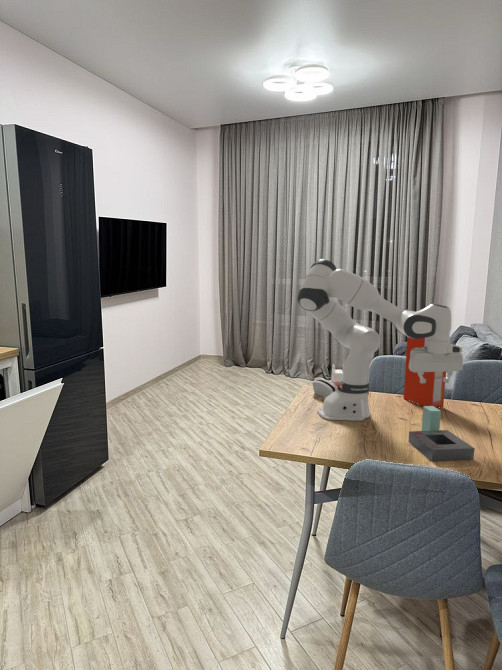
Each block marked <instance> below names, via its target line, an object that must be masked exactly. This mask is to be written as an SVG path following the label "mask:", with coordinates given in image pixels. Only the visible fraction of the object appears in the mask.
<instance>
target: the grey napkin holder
mask: <svg viewBox="0 0 502 670" xmlns="http://www.w3.org/2000/svg"><path fill="white" fill-rule="evenodd" d="M311 384H312V388H313V393H316V394H315V395H317V394H318V395H317V396H319V395H320V396H319V397H321V396H322V397H321V398H323V397H324V398H323V399H325V398H326V397H327V396H329V395H330V394H332V393H333V392H335V391H336V390H337V387H336V386H335V385H334V384H332V383H331V381H329V380H327V379H324V378H318V379H316V380H314V381H312V383H311Z"/></svg>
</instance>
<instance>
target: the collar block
mask: <svg viewBox="0 0 502 670" xmlns="http://www.w3.org/2000/svg"><path fill="white" fill-rule="evenodd" d="M408 443H409V444H410V445H412V446H413V448H415V449H416V450H418V451H419V452H420V453H422V455H424V456H425V457H426V458H427V459H428V460H429V461H431V462H445V461H446V462H447V461H448V462H449V461H470V460H471V461H472V460H474V458H475V447H473V446H472V445H470V444H469V443H467V442H466V441H464V440H463V439H462V438H460V437H458V436H457V435H455V434H453V433H452V432H451V431H450V430H448V429H442V430H440V429H439V430H436V431H421V430H413V431H410V430H409V432H408Z"/></svg>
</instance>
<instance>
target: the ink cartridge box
mask: <svg viewBox="0 0 502 670" xmlns="http://www.w3.org/2000/svg"><path fill="white" fill-rule="evenodd" d="M331 367H332V368H331V379H330V382H331V383H332V384H334V382H335V381H338V382H339V383H340V382H341V381H342V373H343V369H336V367H335V364H334V363H332V365H331ZM334 385H335V384H334ZM335 386H336V385H335ZM336 387H337V386H336Z"/></svg>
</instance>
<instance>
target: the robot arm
mask: <svg viewBox="0 0 502 670" xmlns="http://www.w3.org/2000/svg"><path fill="white" fill-rule="evenodd" d="M335 298H337V299H339V300H340V301H342V302H344V303H346V304H347V305H348V306H351V307H352V308H355V309H357V310H360V311H363V312H372V313H376V314H377V315H378V316H380V317H381V318H383V319H386V320H387V321H389V322H390V323H391V324H392V325H393V326H394V328H395V330H396V331H397V332H398V333H400V334H402V335H403V336H406V337H407V336H408V337H409V338H412V339H419V338H425V346H424V347H421V348H417V347H416V348H414V349H412V350H411V352H410V361H409V369H410V371H412V372H418V376H419V377H420V383H426V379H425V378H423V376H422V375H424V372H444V371H446V377H443V379H444V380H443V382H445V384H446V383H450V379H451V378H452V376H453V375H454V373H453V372H461V371H462V370H463V367H464V356H463V354H462V353H463V347H461V346H460V345H456V344H454V343H452V342H451V337H450V333H451V330H452V311H451V308H450V307H448V306H447V305H442V304H439V303H430V304H428V305H427V306H426V307H424V308H422V309H420V310H416V311H415V310H412V309H408V308H400V307H399V306H397V305H395V304H394V303H391V302H390V301H388V300H386V299H385V298H384V297H382V296H381V294H380V292H379V290H378V288H377V287H375V286H374V285H373V284H372V283H371V282H369V281H368V280H366V279H365V278H363V277H362V276H360V275H358V274H355V273H353V272H352V271H348V270H346V269H343V268H337V266H336V265H335V264H334V262H332V261H331V260H329V259H325V258H320V259H318V260H316V261H315V262H313V264H312V265H311V266H310V269H309V270H308V272H307V274H306V275H305V277H304V279H303V282H302V284H301V287H300V289H299V291H298V292H297V299H296V300H297V302H298V305H299V306H301V308H303V309H304V310H305V311H307V312H308V313H309V314H310V315H311V316H312V317H313V318H314V319H315V320H316V321H317V322H318V323H320V324H321V325H322V326H323V327H324V328H325V329H326V330H328V331H329V332H330V333H331V335H332V336H333V337H334V338H335V339H336V340H337V341H338V343H339V344H341V345H342V346H343V347H345V348H347V349H348V355H347V358H346V360H345V361H343V363H342V372H343V373H342V381H341V382H340V383H339V382H338V381H335V382H334V384H335V385H336V386H337V390H336V391H335V392H333V393H332V394H330V395H329V396H327V397H326V398H324V400H323V404H322V406H321V407H318V409H317V413H318V415H319V416H320V417H321V418H323V419H326V420H328V421H355V422H357V421H358V422H361V421H364V420H365V419H367V418H370V417H371V412H370V411H371V410H370V406H369V395H370V383H369V381H370V380H369V377H370V366H371V361H372V359H373V356H374V354H375V352H377V351H378V350H379V349H380V346H381V342H382V341H381V336H380V334H379V333H378V332H377V331H376V330H374V329H373V328H371V327H368V326H365V325H362V324H360V323H357V322H356V321H355V320H354V319H353V318H352V317H351V315H350V314H349V311H348V310H347V309H346V308H345V307H344V306H343V305H342V304H341V303H339V302H338V301H337V300H336V299H335Z"/></svg>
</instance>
